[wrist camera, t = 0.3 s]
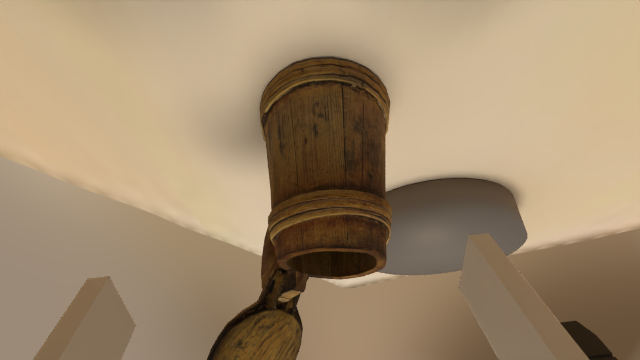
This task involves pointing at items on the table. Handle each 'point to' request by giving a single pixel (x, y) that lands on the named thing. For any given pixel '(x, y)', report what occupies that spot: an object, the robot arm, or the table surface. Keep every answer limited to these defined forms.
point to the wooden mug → (315, 198)
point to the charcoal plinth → (448, 224)
